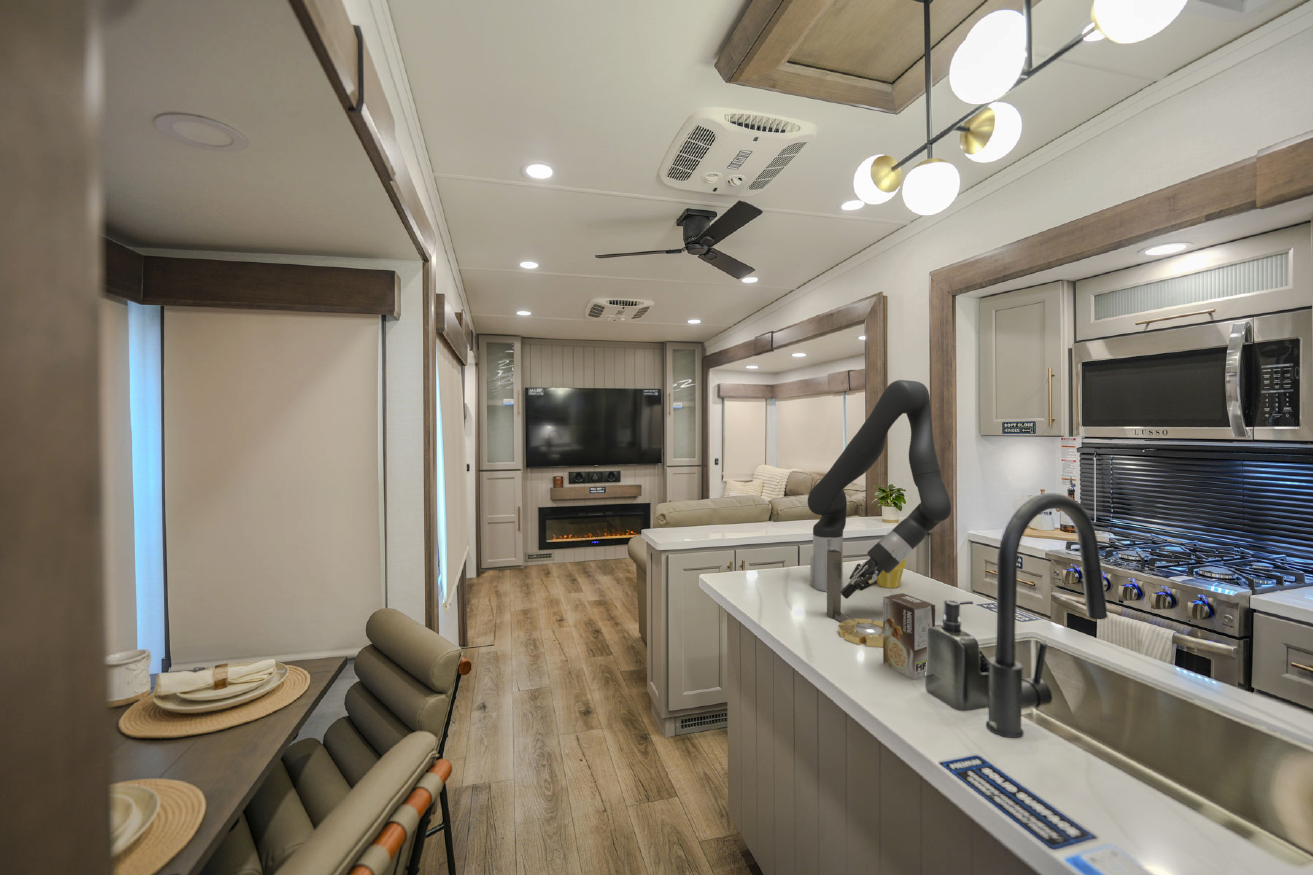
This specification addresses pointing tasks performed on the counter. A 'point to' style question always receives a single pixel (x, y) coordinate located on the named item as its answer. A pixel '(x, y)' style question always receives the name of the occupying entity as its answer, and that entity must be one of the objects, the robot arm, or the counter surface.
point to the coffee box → (906, 633)
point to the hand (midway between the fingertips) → (843, 595)
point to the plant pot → (892, 576)
